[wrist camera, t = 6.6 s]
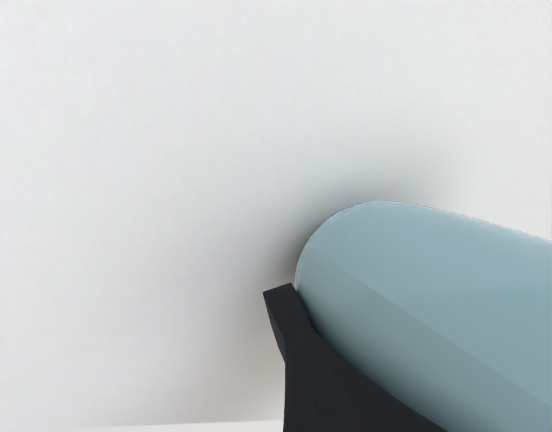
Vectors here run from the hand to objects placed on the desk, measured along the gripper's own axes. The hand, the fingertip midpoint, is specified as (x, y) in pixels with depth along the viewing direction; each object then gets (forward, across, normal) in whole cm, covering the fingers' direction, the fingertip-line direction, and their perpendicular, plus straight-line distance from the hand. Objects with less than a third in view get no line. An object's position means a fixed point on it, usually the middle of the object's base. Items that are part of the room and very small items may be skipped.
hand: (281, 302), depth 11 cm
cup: (+2, -3, 0) cm, 4 cm away
